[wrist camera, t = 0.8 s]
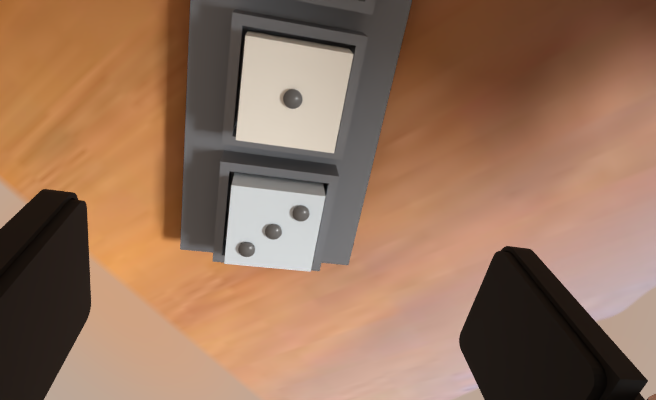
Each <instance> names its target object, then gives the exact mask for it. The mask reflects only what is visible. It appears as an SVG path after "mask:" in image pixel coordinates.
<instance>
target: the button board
mask: <svg viewBox="0 0 656 400" xmlns="http://www.w3.org/2000/svg"><path fill="white" fill-rule="evenodd" d="M411 3H412V0H190V21H189V46H188V70H187V95H186V120H185V145H184V170H183V194H182V219H181V244H180V249H182V250H193V251H203V252H213V261H214V262H224V261H225V250H226V239H227V228H228V218H229V207H230V196H231V185H232V181H233V176H234V172H237V173H245V174H253V175H261V176H269V177H277V178H285V179H293V180H301V181H309V182H318V183H323V186H324V191H325V196H326V197H325V202H324V207H323V212H322V217H321V222H320V227H319V232H318V237H317V242H316V247H315V252H314V257H313V262H312V267H311V270H313V271H320V267H321V263H331V264H341V265H348V264H349V260H350V256H351V252H352V248H353V244H354V239H355V235H356V231H357V227H358V223H359V219H360V215H361V210H362V206H363V202H364V198H365V194H366V190H367V185H368V181H369V177H370V173H371V169H372V165H373V161H374V156H375V152H376V148H377V144H378V140H379V136H380V131H381V127H382V123H383V119H384V115H385V111H386V106H387V102H388V98H389V94H390V90H391V86H392V82H393V77H394V73H395V69H396V65H397V61H398V57H399V52H400V48H401V44H402V40H403V36H404V32H405V28H406V23H407V19H408V15H409V11H410V7H411ZM247 31H252V32H258V33H264V34H269V35H275V36H281V37H286V38H292V39H298V40H304V41H309V42H315V43H321V44H326V45H332V46H338V47H344V48H349V49H350V50H351V52H352V53H353V54H354V55H353V60H352V65H351V70H350V75H349V80H348V85H347V90H346V95H345V100H344V105H343V110H342V116H341V121H340V126H339V131H338V136H337V141H336V146H335V151H334V153H327V152H320V151H312V150H305V149H297V148H290V147H283V146H275V145H268V144H260V143H253V142H246V141H238V140H236V132H237V121H238V110H239V99H240V89H241V78H242V67H243V56H244V46H245V35H246V33H247Z"/></svg>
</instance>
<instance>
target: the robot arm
mask: <svg viewBox="0 0 656 400" xmlns="http://www.w3.org/2000/svg"><path fill="white" fill-rule="evenodd" d="M89 269H90V268H89V246H88V223H87V206H86V203H85V201H81V200H78V198H77V195H76V194H75V193H72V192H64V191H56V190H48V189H43V190H42V191H40V192H39V193H38V194H37V195H36V196H35V197H34V198H33V199H32V200H31V201H30V202H29V203H27V204H26V205H25V206H24V207H23V208H22V209H21V210H20V211H19V212H18V213H17V214H16V215H15V216H14V217H13V218H12V219H11V220H10V221H8V222H7V223H6V224H5V226H3V227H2V228H1V229H0V400H44V398H45V396H46V394H47V393H48V391H49V389H50V387H51V385H52V383H53V382H54V380H55V378H56V376H57V374H58V372H59V370H60V369H61V367H62V365H63V363H64V361H65V359H66V358H67V356H68V354H69V352H70V350H71V348H72V346H73V345H74V343H75V341H76V339H77V337H78V335H79V334H80V332H81V330H82V328H83V326H84V324H85V322H86V320H87V318H88V315H89V312H90V307H91V291H90V270H89ZM459 343H460V348H461V351H462V353H463V355H464V357H465V359H466V361H467V363H468V365H469V368H470V370H471V372H472V374H473V376H474V378H475V380H476V382H477V384H478V387H479V389H480V391H481V393H482V395H483V397H484V399H485V400H645V399H644V398H643V397H642V396H641V394H640V392H641V390H642V389H643V387H644V386H645V385H646V383H647V382H648V380H647V379H646V378H645V377H644V376H643V375H642V374H641V372H640V371H639V370H638V369H637V368H636V367H635V366H634V365H633V363H632V362H631V361H630V360H629V359H628V358H627V357H626V356H625V354H624V353H623V352H622V351H621V350H620V349H619V348H618V346H617V345H616V344H615V343H614V342H613V341H612V340H611V339H610V338H609V337H608V335H607V334H606V333H605V332H604V331H603V330H602V328H601V327H600V326H599V325H598V324H597V323H596V322H595V321H594V319H593V318H592V317H591V316H590V315H589V314H588V313H587V312H586V310H585V309H584V308H583V307H582V306H581V305H580V304H579V302H578V301H577V300H576V299H575V298H574V297H573V296H572V295H571V293H570V292H569V291H568V290H567V289H566V288H565V287H564V286H563V284H562V283H561V282H560V281H559V280H558V279H557V278H556V277H555V275H554V274H553V273H552V272H551V271H550V270H549V269H548V268H547V266H546V265H545V264H544V263H543V262H542V261H541V260H540V259H539V257H538V256H537V255H536V254H535V253H534V252H533V251H532V250H531V249H527V248H518V247H510V246H506V247H504V248H503V249H502V250H501V251H498V252H496V253H495V255H494V256H493V259H492V261H491V263H490V266H489V268H488V270H487V273H486V275H485V277H484V280H483V282H482V284H481V287H480V289H479V291H478V294H477V296H476V298H475V301H474V303H473V305H472V308H471V310H470V312H469V315H468V317H467V319H466V322H465V324H464V326H463V329H462V331H461V334H460V338H459ZM647 400H656V394H654V395H652V396H650V397H649V398H648V399H647Z"/></svg>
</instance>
